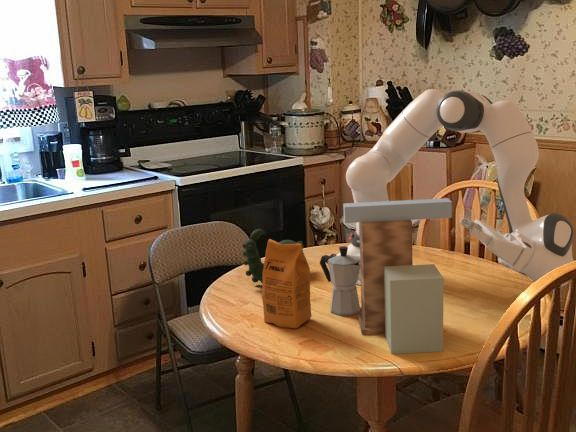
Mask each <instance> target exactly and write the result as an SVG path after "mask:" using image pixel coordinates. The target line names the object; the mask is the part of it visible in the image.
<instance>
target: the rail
mask: <svg viewBox="0 0 576 432" xmlns="http://www.w3.org/2000/svg"><path fill="white" fill-rule="evenodd" d="M342 206H343V221H344V223H345V224H349V223H350V224H353V223H355V224H356V223H357V222H377V221H397V220H411V221H413V220H430V219H431V220H433V219H436V220H437V219H451V218H452V217H453V215H452V213H453V202H452V200H451V199H449V198H448V197H447V198H445V197H444V198H443V197H442V198H427V199H406V200H389V201H383V202H363V203H354V202H348V203H347V202H346V203H343V205H342Z"/></svg>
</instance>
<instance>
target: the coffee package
mask: <svg viewBox="0 0 576 432" xmlns="http://www.w3.org/2000/svg"><path fill="white" fill-rule="evenodd" d="M304 248H305V246H304V244H303V243H302V244H280V243H279V242H278V241H276V240H273V239H271V238H269V239H267V245H266V249H265V254H264V255H265V256H264V262H263V263H264V269H263V277H262V278H263V284H262V283H261V284H262V289H261V291H262V293H261V299H262V306H263V320H264V323H268V324H274V325H276V326H277V327H279V328H284V329H285V328H286V329H298V328H299V327H301V326H302V325H303V324H305V323H306V322H307V321H309V320H310V319H311V318H312V304H311V279H310V277H311V275H310V274H311V270H310V266H309V262H308V260H307V258H306V255H305V252H304V250H303V249H304Z"/></svg>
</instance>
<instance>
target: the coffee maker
mask: <svg viewBox="0 0 576 432" xmlns="http://www.w3.org/2000/svg"><path fill="white" fill-rule="evenodd" d="M338 249H339V252H340V254H341V255H339V256H337V254H336V253H331V254H330V255H328V254H324V255H322V256H321V257H320V259H319V260H320V261H319V265H320V266H321V270H322V272H323V274H324V275H325V278H326V280H327V282H328V283H330V282H331V284H332V285H333V286H332V293H331V301H330V313H331V314H334V315H337V316H339V317H347V316H351V317H352V316H354V315H357V313H362V309H361V306H360V301H359V300H360V299H359V294H358V289H357V284H356V283H357V282H358V275H359V270H360V259H359V258H357V257H356V256H352V255H347V250H348V247H347V246H345V245H343V246H339V248H338Z"/></svg>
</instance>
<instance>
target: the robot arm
mask: <svg viewBox="0 0 576 432" xmlns="http://www.w3.org/2000/svg"><path fill="white" fill-rule="evenodd" d="M442 127H444V128H446V129H447V130H450V131H453V132H458V133H462V134H463V133H464V134H466V133H467V134H468V133H480V132H481V133H482V134H484V136H485V138H486V141H487V142H488V144H489V147H490V149H491V152H492V154H493V157H494V161H495V166H496V183H497V188H498V193H499V195H500V200H501V203H502V207H503V210H504V212H505V217H506V221H507V226H508V229H509V233H508V232H507V233H502V232H501V231H500V230H498V229H497V228H496V227H495V228H494V227H493V226H491V225H489V224H487V223H486V222H484V221H482V220H480V219H475V220H473V221H472V220H470V219H467V218H466V217H462V218H461V219H460V221H459V224H460V225H461V226H463V227H464V228H467V229H468V230H469V234H470V235H471V236H473V238H476V239H477V240H479V241H480V242H481V243H482V244H483V245H484V246H485V247H486V248H487V249H488V250H489V251H490V252H491V253H492V254H494V255H495V256H496V257H497V261H498V263H500V264H501V265H503V266H505V267H507V268H508V269H511V270H513V271H515V272H517V273H522V274H524V275H525V276H526V277H527V278H529V279H530V280H532V281H534V282H536V280H538V279H539V278H540V277H542V276H543V275H545V274H546V273H548V272H550V271H552V270H553V269H555V268H557V267H560V266H562V265H564V264H567V263H570V262H573V261H574V258H573V241H574V238H575V228H574V226H573V224H572V223H571V221H570V220H569V219H568V218H567V217H566V216H564V215H563V214H561V213H557V212H553V213H549V214H546V215H544V216H541V217H539V218H537V219H535V220H533V218H532V216H531V213H530V209H529V206H528V202H527V199H526V195H525V185H526V181H527V179H528V177H529V176H530V174H531V172H532V171H533V170H534V168H535V166H536V165H537V163H538V161H539V158H540V157H539V156H540V151H539V146H538V142H537V140H536V137H535V135H534V133H533V130H532V128H531V126H530V124H529V122H528V121H527V118H526V116H525V115H524V114H523V112H522V110H521V108H519V106H518V104H517V103H515V101H514V102H513V101H512V100H508V99H507V100H505V99H503V100H499V101H496V102H492V101H491V100H490V98H488V97H487V96H485V95H483V94H480V93H478V92H473V91H464V90H452V91H450V92H448V93H446V94H445V93H443V92H442V91H440V90H438V89H434V88H430V89H429V88H428V89H426V90H425V91H423V92H422V93H420V94H419V95H418V96H417V97H416V98H414V99H413V100H412V101H411V102H409V104H407V106H406V107H405V108H404V109H402V111H401V112H400V113H399V114H398V115H397V116H396V117H395V119H394V120H393V121H392V122H390V124H389V125H388V126H387V127H386V129H385V130H384V131H383V133H382V135H381V137H380V138H379V140H378V141H377V142H376V143H375V144H374V145H373V147H372V148H370V150H369V151H367V152H366V153H365V154H362V155H360V156H358V157H356V158H355V159H353V161H352V162H351V163H350V164H349V166H348V167H347V170H346V173H345V180H346V184H347V186H348V187H349V188H350V189H351V193H352V198H353V203H363V202H383V201H390V200H389V199H390V198H389V195H388V188H387V187H388V183H390V182H391V181H393V180H394V179H395V178H396V176H397V175H398V174H399V173H400V171H402V169H403V168H404V167H405V166H406V165H407V164H408V163H409V161H410V160H411V159H412V158H413V156H414V155H416V153H417V152H418V151H419V150H421V148H422V147H423V146H424V145H425V144H426V143H427V142H428V141H429V140H430V139H431V138H432V137H433V135H435V133H436V132H437V131H438V130H439V129H440V128H442ZM355 224H356V226H355V228H356V230H355V231H354V232H353V233H351V235H349V237H348V238H349V241H350V240H351V243H350V244H349V245H348V246H346V247H348V250H347V255H352V256H356V257H357V258H359V259H360V236H359V222H357V223H355ZM339 255H341V254H340V251H339V252H338V253H337V254H336V256H339ZM569 283H570V282H566V283H564V284H562V285H561V287H560V288H562V287H565V286H567V285H568V284H569ZM356 285H359V286H361V272H360V270H359V275H358V282H357V283H356Z"/></svg>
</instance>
